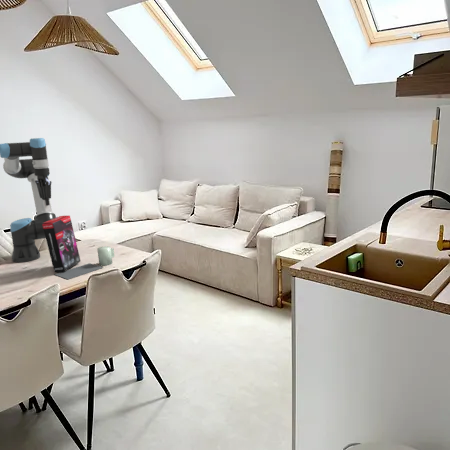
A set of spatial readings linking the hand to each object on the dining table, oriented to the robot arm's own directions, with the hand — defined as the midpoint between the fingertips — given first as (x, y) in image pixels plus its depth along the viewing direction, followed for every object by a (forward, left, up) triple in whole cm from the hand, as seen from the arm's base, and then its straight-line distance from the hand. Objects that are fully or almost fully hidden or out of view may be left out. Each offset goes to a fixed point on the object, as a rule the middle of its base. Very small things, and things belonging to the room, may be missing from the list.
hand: (47, 211), depth 230 cm
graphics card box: (+13, 0, -30) cm, 33 cm away
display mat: (+23, +1, -30) cm, 38 cm away
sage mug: (+25, +17, -30) cm, 43 cm away
